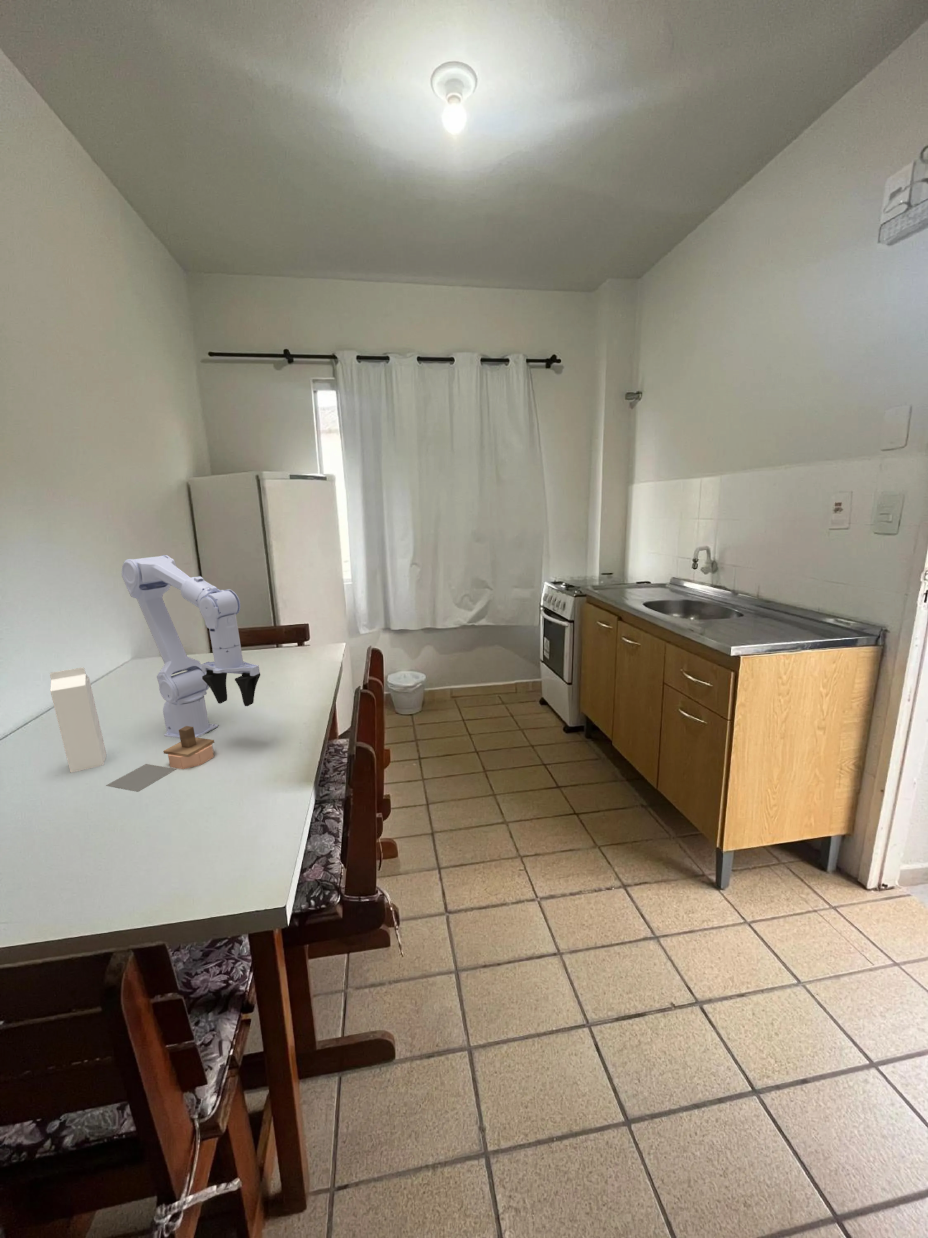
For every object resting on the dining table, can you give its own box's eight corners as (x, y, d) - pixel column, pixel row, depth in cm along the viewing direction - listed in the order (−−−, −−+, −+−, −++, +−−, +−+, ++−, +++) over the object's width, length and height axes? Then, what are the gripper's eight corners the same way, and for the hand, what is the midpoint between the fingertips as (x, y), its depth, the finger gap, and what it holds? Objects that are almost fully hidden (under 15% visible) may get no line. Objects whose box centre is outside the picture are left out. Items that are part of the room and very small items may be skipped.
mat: (105, 786, 103) (105, 785, 103) (146, 765, 111) (145, 763, 111) (138, 793, 100) (138, 791, 100) (177, 770, 108) (177, 769, 108)
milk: (104, 766, 112) (82, 670, 107) (70, 774, 109) (46, 676, 104) (107, 755, 117) (86, 663, 112) (74, 762, 114) (52, 669, 109)
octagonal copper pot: (162, 766, 110) (159, 754, 109) (193, 749, 118) (191, 737, 117) (191, 771, 107) (189, 758, 107) (222, 753, 115) (220, 740, 114)
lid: (163, 753, 110) (159, 733, 109) (190, 739, 116) (187, 720, 115) (188, 757, 107) (184, 737, 106) (214, 742, 114) (211, 723, 113)
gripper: (186, 649, 112) (197, 707, 115) (239, 652, 107) (248, 713, 110) (211, 640, 118) (221, 695, 121) (262, 643, 113) (270, 700, 116)
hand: (235, 703), depth 116 cm, fingers open, 7 cm apart
